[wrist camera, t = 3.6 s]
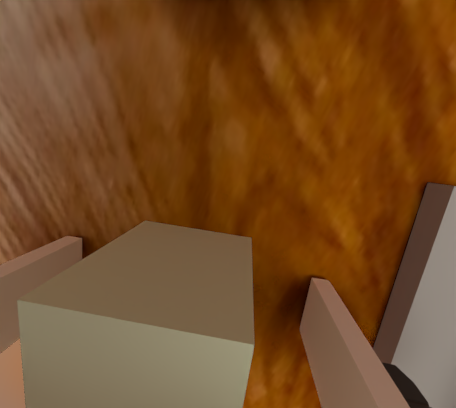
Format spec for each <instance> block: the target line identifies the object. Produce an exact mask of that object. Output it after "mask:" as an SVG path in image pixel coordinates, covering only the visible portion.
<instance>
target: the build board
mask: <svg viewBox="0 0 456 408" xmlns="http://www.w3.org/2000/svg"><path fill="white" fill-rule="evenodd" d="M373 350H374V352H375V353H376V355H377V356H378V358H379V360H380V361H381V362H383V363H388V364H393V365H396V366H397V367H398V368H399V369H400V370H401V371H402V372H403V373H404V374H405V375H406V376H407V377H408V378H409V379H411V380H412V381H413V382H414V384H415V385H416V386H417V388H418V389H419V390H420V392H421V393H422V395H423V396H424V397H425V399H426V400H427V402H428V404H429V407H432V408H456V186H450V185H443V184H436V183H429V182H428V183H427V186H426V189H425V192H424V195H423V198H422V201H421V204H420V207H419V210H418V213H417V216H416V219H415V223H414V226H413V229H412V232H411V235H410V238H409V241H408V244H407V247H406V250H405V253H404V256H403V259H402V262H401V265H400V268H399V271H398V274H397V277H396V280H395V283H394V286H393V289H392V292H391V295H390V298H389V301H388V304H387V308H386V311H385V314H384V317H383V320H382V323H381V326H380V329H379V332H378V335H377V338H376V341H375V344H374V347H373Z"/></svg>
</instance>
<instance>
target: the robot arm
mask: <svg viewBox="0 0 456 408" xmlns="http://www.w3.org/2000/svg"><path fill="white" fill-rule="evenodd" d="M81 260H82V238H78V237H72V236H65V237H63V238H61V239H58V240H56V241H54V242H51V243H49V244H47V245H45V246H42V247H40V248H38V249H35V250H33V251H31V252H28V253H26V254H24V255H21V256H19V257H17V258H14V259H12V260H10V261H8V262H5V263H3V264H1V265H0V353H2V352H3V351H4V350H5V349H7V348H8V347H9V346H10V345H12V344H13V343H14V342H16V341H17V340H18V339H19V338H20V330H19V318H18V305H17V300H18V299H19V298H21V297H22V296H24V295H26V294H27V293H29V292H30V291H32V290H34V289H35V288H37V287H39V286H40V285H42V284H43V283H45V282H47V281H48V280H50V279H51V278H53V277H55V276H56V275H58V274H60V273H61V272H63V271H64V270H66V269H68V268H69V267H71V266H73V265H74V264H76V263H77V262H79V261H81ZM300 333H301V336H302V340H303V343H304V347H305V350H306V354H307V357H308V361H309V364H310V368H311V371H312V375H313V378H314V382H315V385H316V389H317V392H318V396H319V399H320V403H321V406H322V408H432V407H429V404H428V402H427V400H426V399H425V397H424V396H423V395H422V393H421V392H420V390H419V389H418V388H417V386H416V385H415V384H414V382H413V381H412V380H411V379H409V378H408V377H407V376H406V375H405V374H404V373H403V372H402V371H401V370H400V369H399V368H398V367H397V366H396V365H393V364H388V363H383V362H381V361H380V360H379V358H378V356H377V355H376V353H375V352H374V350H373V349H372V347H371V345H370V344H369V342H368V341H367V339H366V338H365V336H364V334H363V333H362V331H361V330H360V328H359V327H358V325H357V324H356V322H355V320H354V319H353V317H352V316H351V314H350V313H349V311H348V309H347V308H346V306H345V305H344V303H343V302H342V300H341V298H340V297H339V295H338V294H337V292H336V291H335V289H334V287H333V286H332V284H331V283H330V281H329V280H324V279H318V278H313V277H312V278H311V282H310V287H309V291H308V295H307V299H306V303H305V308H304V312H303V316H302V320H301V324H300Z"/></svg>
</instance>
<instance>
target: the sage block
mask: <svg viewBox="0 0 456 408" xmlns="http://www.w3.org/2000/svg"><path fill="white" fill-rule="evenodd" d="M17 305H18V318H19V330H20V343H21V354H22V368H23V380H24V393H25V405H26V408H243V403H244V397H245V392H246V387H247V382H248V377H249V371H250V366H251V361H252V356H253V350H254V345H255V343H254V305H253V267H252V238H250V237H244V236H238V235H232V234H226V233H219V232H213V231H207V230H201V229H195V228H188V227H182V226H176V225H170V224H164V223H157V222H151V221H144V222H142V223H140V224H139V225H137V226H136V227H134V228H132V229H131V230H129V231H128V232H126V233H124V234H123V235H121V236H119V237H118V238H116V239H115V240H113V241H111V242H110V243H108V244H106V245H105V246H103V247H102V248H100V249H98V250H97V251H95V252H94V253H92V254H90V255H89V256H87V257H85V258H84V259H82V260H81V261H79V262H77V263H76V264H74V265H73V266H71V267H69V268H68V269H66V270H64V271H63V272H61V273H60V274H58V275H56V276H55V277H53V278H51V279H50V280H48V281H47V282H45V283H43V284H42V285H40V286H39V287H37V288H35V289H34V290H32V291H30V292H29V293H27V294H26V295H24V296H22V297H21V298H19V299H18V300H17Z"/></svg>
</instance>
